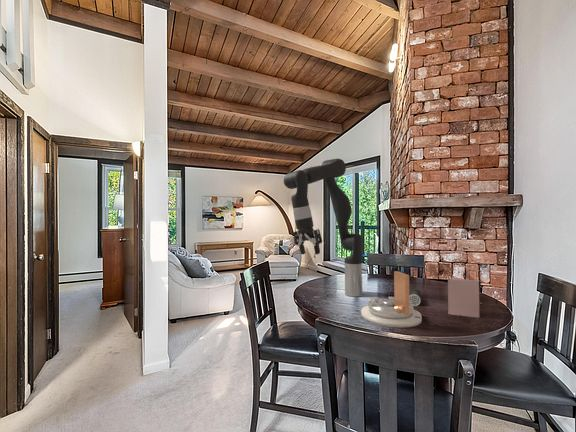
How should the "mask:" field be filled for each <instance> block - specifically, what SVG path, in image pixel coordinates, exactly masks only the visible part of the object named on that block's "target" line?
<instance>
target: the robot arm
mask: <svg viewBox="0 0 576 432" xmlns="http://www.w3.org/2000/svg"><path fill="white" fill-rule="evenodd" d="M346 169H347V168H346V163H345V161H344V160H343V159H342V158H332V159H327V160H324V161H322V163H321V165H317V166H316V165H315V166H310V167H306V168H304V169H299V170H298V169H297V170H295V171H291V172H287V174H285V176H284V177H283V184H284V186H285V187H286V188H287V189H290V190H294V189H296V192H295V193H294V194H292V195H291V199H290V200H291V205H292V209H293V210H292V211H293V217H294V223H295V228H296V231H293V232H292V234H293V235H292V236H293V240H294V245H295V246H298V247H299V252H300V254H301V255H305V254H306V250H305V245H304V244H305V242H306V241H307V242H308V241H309V243H311V244H312V245H313V251H314V254H315V255H319V254H320V253H321V249H320V245H321V244H322V243H323V239H322V235H321V230H320V229H319V228H317V229H314V222H313V221H314V219H313V216H312V210H311V207H310V203H309V197H308V189H309V184H313V183H316V182H319V181H322V180H324V183H325V184H326V187H327V190H328V193H329V197H330V201H331V205H332V209H333V213H334V216H335V219H336V223H337V227H338V233H339V240H340V244H341V247H342V249H343V250H346V251H352V254H351V255H349V256H346V257H345V258H344V295H345V296H349V297H361V296H362V295H363V294H364V293H363V256H364V255H363V254H364V253H363V252H364V239H363V235H361V234H359V233H350V232H349V228H348V226H349V222H350V219H351V216H352V213H353V210H352V204H351V201H350V198H349V197H348V195H347V194H346V193H345V192H344V191H343V189H341V188H340V186H339V185H338V183H337V181H336V178H340V177H343V176H344V175H345V173H346V171H347V170H346Z"/></svg>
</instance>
